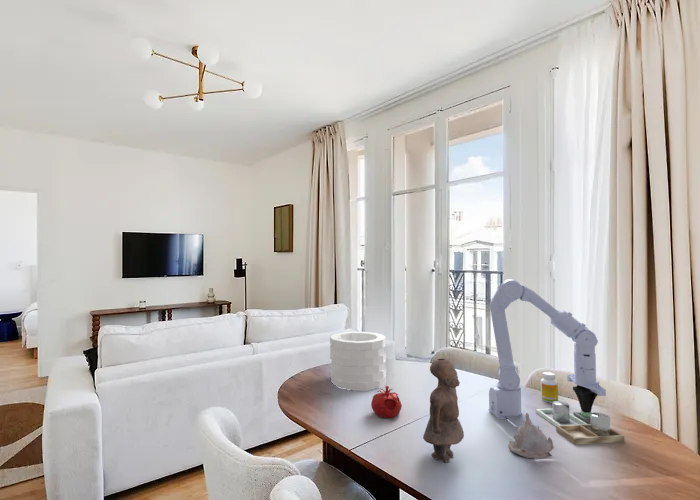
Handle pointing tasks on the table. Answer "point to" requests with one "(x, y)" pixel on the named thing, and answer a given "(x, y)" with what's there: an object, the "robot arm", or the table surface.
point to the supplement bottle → (549, 387)
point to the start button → (585, 414)
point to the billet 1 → (561, 412)
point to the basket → (358, 360)
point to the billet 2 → (600, 424)
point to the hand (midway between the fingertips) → (586, 411)
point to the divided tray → (587, 434)
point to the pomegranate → (386, 404)
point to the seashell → (530, 441)
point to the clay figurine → (444, 411)
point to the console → (578, 415)
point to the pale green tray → (542, 413)
